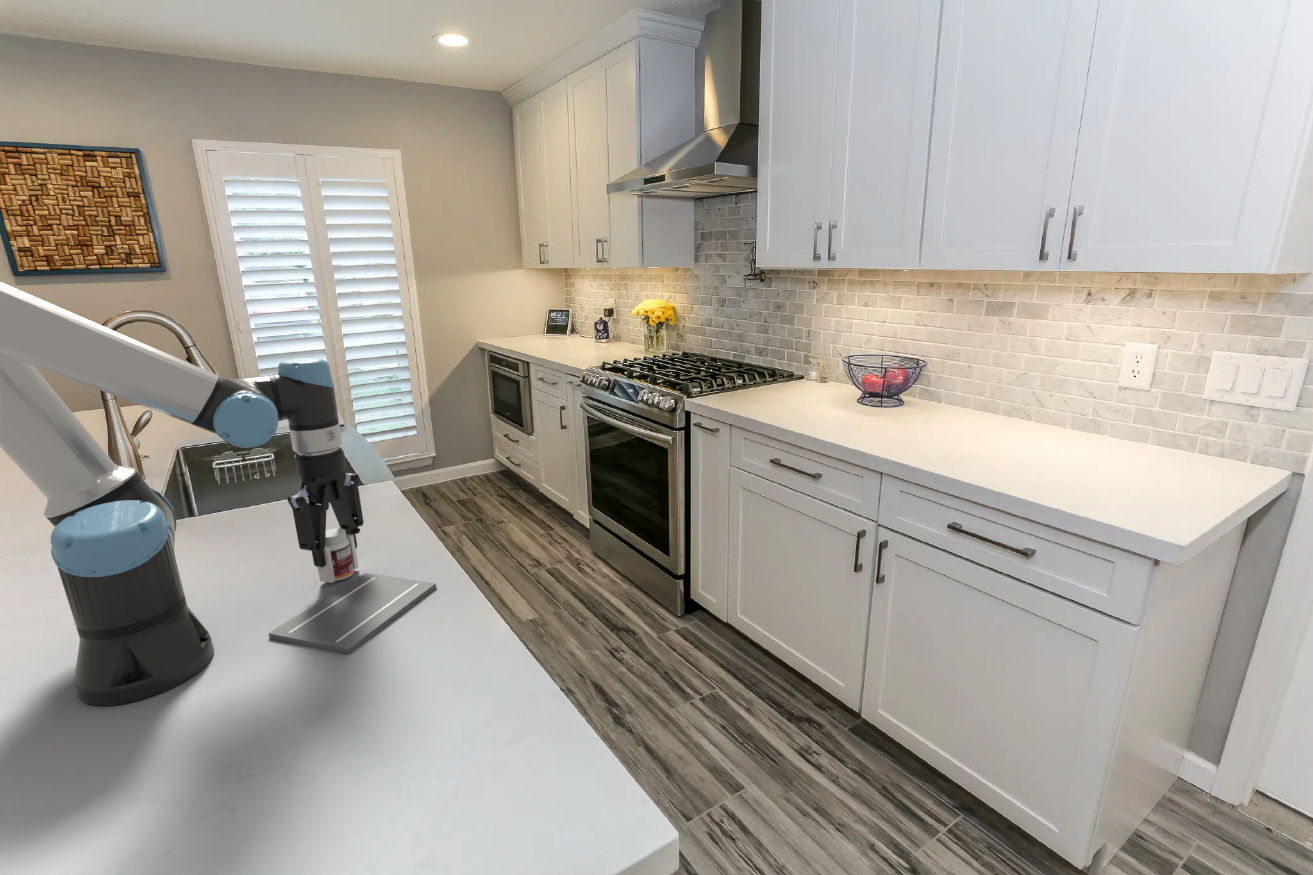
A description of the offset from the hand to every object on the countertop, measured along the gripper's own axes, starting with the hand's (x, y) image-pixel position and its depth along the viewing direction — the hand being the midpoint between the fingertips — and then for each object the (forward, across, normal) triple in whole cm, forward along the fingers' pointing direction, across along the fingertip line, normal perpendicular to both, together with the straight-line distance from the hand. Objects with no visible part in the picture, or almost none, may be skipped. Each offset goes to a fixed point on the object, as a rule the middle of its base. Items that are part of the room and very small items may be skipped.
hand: (339, 573), depth 115 cm
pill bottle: (+1, 0, 0) cm, 1 cm away
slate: (+1, -9, -12) cm, 15 cm away
